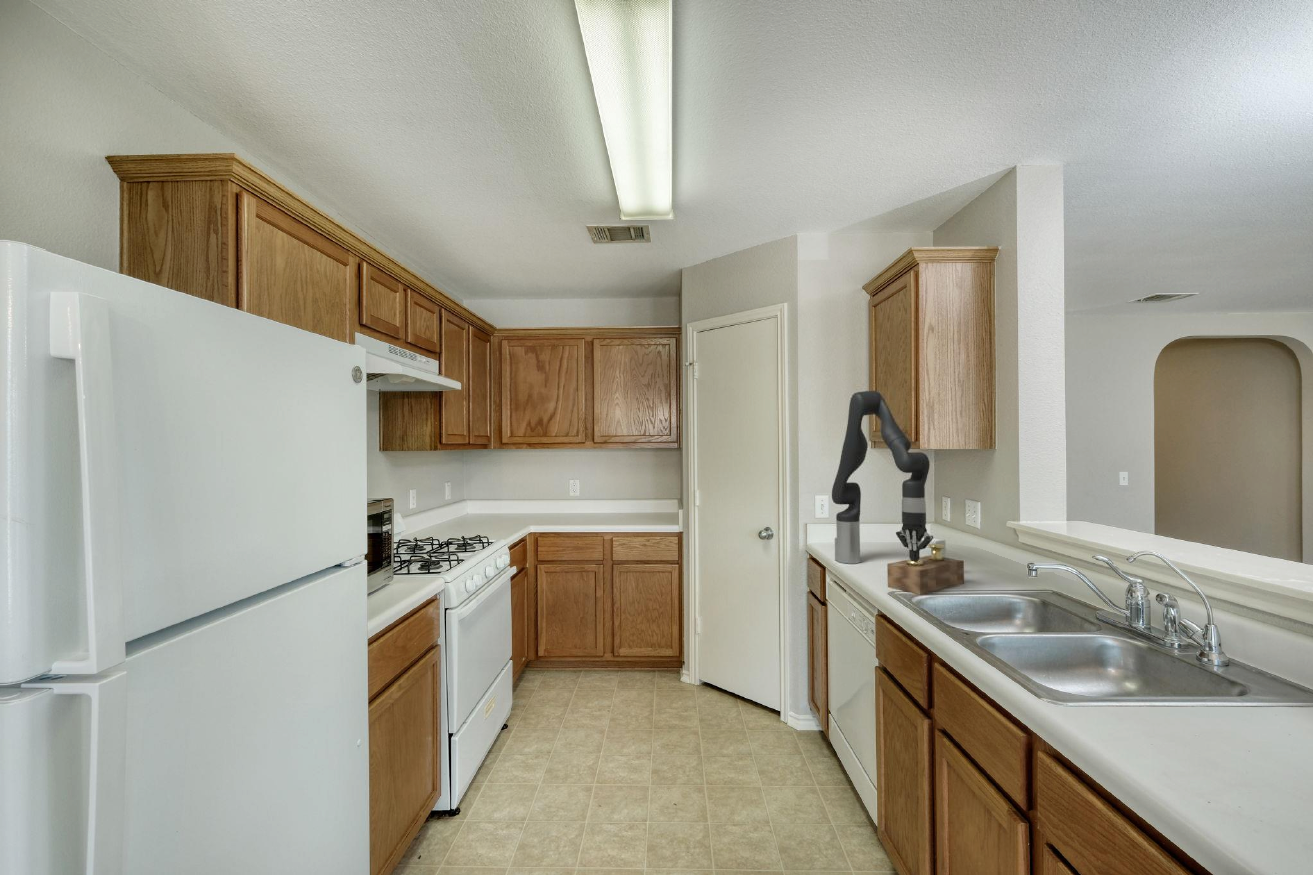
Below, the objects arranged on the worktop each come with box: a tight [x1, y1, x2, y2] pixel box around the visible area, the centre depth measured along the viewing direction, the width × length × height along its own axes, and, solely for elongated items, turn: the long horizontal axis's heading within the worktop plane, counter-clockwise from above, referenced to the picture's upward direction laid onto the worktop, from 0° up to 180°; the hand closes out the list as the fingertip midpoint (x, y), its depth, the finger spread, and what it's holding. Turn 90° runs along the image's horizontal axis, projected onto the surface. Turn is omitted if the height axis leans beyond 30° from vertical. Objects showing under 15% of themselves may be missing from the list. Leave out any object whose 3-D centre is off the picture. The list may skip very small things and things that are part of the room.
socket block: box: [886, 555, 965, 596], centre depth 189 cm, size 12×26×8 cm, turn 122°
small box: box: [919, 537, 947, 558], centre depth 206 cm, size 8×6×13 cm
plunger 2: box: [929, 544, 944, 562], centre depth 193 cm, size 5×5×8 cm
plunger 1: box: [906, 558, 923, 567], centre depth 186 cm, size 5×5×8 cm
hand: (914, 560), depth 186 cm, fingers closed
